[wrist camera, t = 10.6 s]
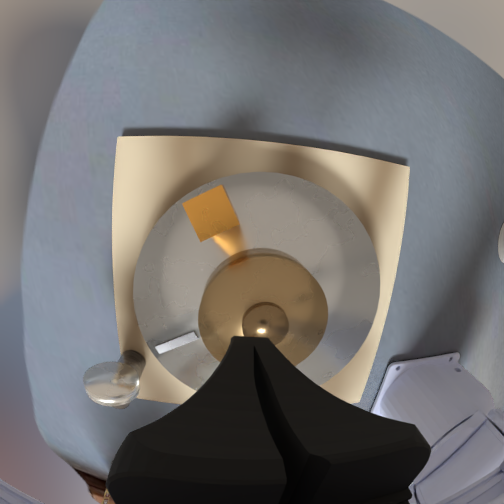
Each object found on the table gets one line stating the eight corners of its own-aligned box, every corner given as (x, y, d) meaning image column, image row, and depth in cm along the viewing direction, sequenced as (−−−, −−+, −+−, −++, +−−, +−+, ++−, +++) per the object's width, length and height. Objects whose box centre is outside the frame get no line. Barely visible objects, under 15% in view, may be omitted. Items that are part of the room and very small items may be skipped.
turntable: (324, 134, 17) (350, 121, 12) (391, 338, 20) (418, 366, 16) (98, 241, 17) (66, 256, 13) (208, 416, 21) (206, 454, 17)
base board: (405, 167, 18) (409, 167, 18) (356, 398, 23) (359, 402, 22) (120, 138, 17) (117, 136, 16) (130, 392, 21) (128, 396, 20)
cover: (289, 227, 17) (301, 236, 14) (330, 323, 18) (347, 347, 15) (181, 279, 17) (171, 299, 14) (235, 367, 18) (236, 397, 15)
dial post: (156, 340, 20) (129, 401, 13) (158, 369, 20) (136, 432, 14) (112, 335, 20) (74, 388, 13) (116, 363, 20) (84, 419, 13)
